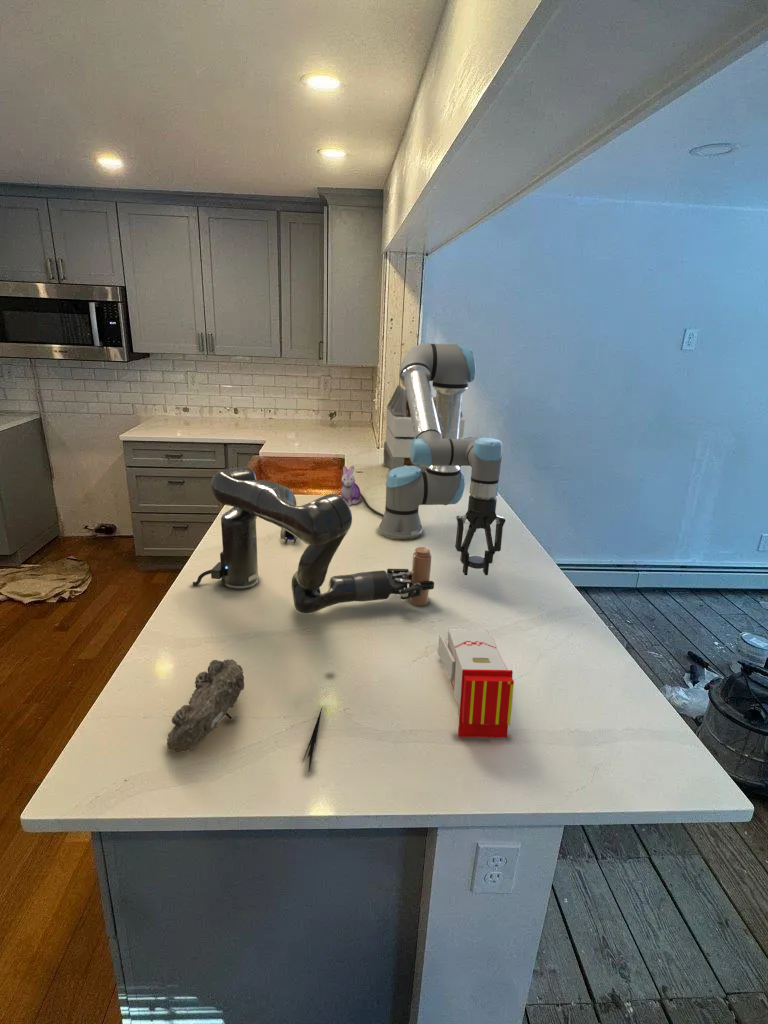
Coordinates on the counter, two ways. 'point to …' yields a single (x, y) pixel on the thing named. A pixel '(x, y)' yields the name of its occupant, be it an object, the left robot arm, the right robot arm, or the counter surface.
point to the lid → (477, 562)
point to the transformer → (402, 431)
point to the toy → (478, 682)
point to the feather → (313, 740)
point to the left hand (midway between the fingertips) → (429, 580)
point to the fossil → (206, 705)
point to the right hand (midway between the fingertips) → (475, 573)
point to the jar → (421, 573)
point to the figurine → (350, 487)
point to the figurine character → (287, 536)
